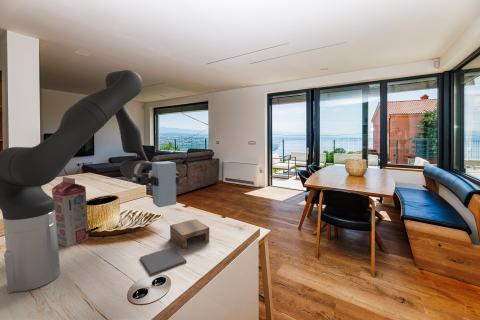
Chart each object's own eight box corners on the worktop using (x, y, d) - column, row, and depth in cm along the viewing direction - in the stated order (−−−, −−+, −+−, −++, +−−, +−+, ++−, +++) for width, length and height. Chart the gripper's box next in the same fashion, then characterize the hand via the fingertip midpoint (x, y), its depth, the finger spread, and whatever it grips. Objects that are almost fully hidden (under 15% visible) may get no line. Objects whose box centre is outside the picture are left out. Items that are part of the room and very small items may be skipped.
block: (158, 207, 60) (157, 164, 59) (152, 203, 64) (151, 162, 63) (176, 204, 64) (175, 163, 62) (169, 200, 67) (169, 161, 66)
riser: (182, 250, 71) (182, 235, 70) (170, 238, 78) (170, 225, 78) (209, 241, 77) (209, 227, 76) (195, 231, 85) (195, 218, 84)
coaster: (151, 275, 58) (150, 273, 57) (140, 258, 65) (140, 256, 65) (186, 262, 64) (186, 260, 64) (172, 248, 72) (172, 246, 71)
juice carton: (77, 234, 80) (73, 175, 78) (88, 238, 77) (84, 177, 75) (55, 242, 74) (50, 178, 72) (67, 247, 71) (62, 180, 69)
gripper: (124, 163, 69) (139, 170, 56) (169, 160, 78) (191, 166, 65) (125, 186, 70) (140, 198, 57) (169, 181, 79) (191, 191, 66)
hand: (167, 181), depth 61 cm, fingers closed on block, 5 cm apart
